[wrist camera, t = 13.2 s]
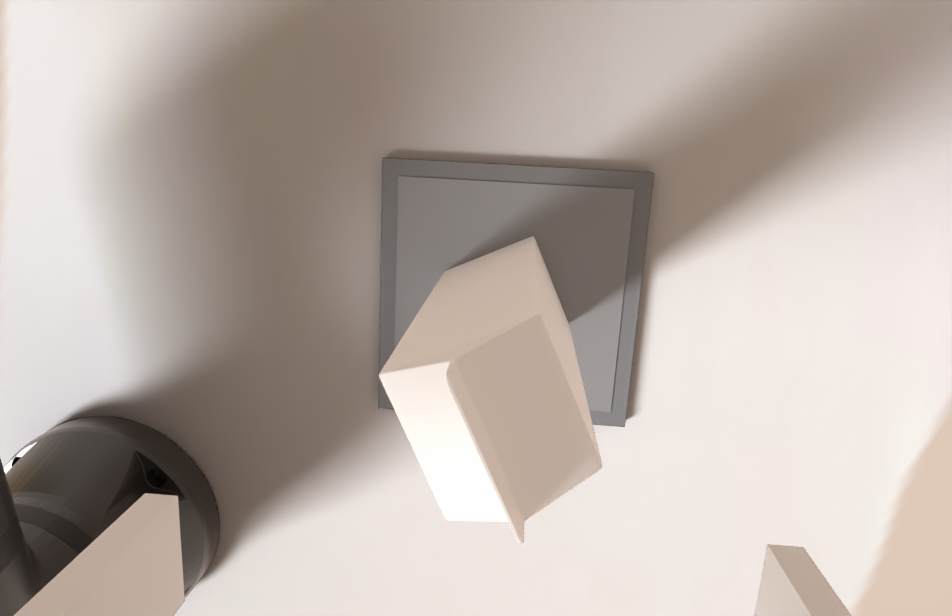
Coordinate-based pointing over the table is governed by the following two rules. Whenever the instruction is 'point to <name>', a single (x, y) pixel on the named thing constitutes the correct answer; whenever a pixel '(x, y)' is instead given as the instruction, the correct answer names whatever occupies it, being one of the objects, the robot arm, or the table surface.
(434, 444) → the milk
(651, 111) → the table surface
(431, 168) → the mat
